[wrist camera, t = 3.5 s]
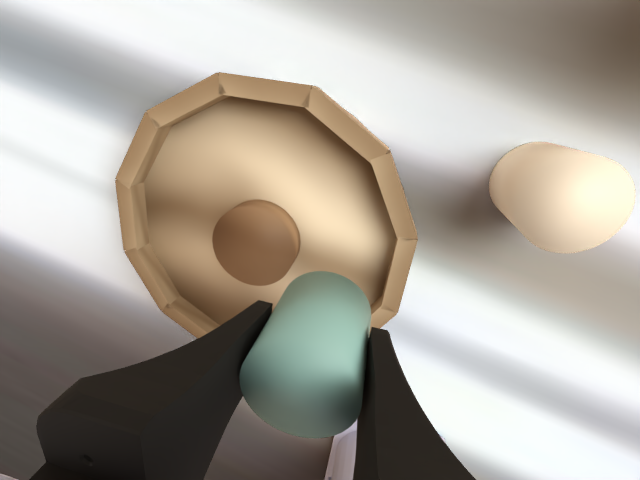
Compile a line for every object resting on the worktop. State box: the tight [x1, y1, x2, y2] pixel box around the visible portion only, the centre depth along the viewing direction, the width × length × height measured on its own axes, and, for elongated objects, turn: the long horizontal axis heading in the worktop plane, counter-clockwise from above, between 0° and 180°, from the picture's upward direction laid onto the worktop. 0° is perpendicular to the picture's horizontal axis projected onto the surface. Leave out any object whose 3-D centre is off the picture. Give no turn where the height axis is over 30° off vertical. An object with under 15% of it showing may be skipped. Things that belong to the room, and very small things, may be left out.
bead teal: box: [239, 271, 371, 438], centre depth 13 cm, size 4×4×4 cm
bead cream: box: [489, 142, 635, 253], centre depth 15 cm, size 4×4×4 cm
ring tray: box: [115, 72, 418, 338], centre depth 20 cm, size 18×18×2 cm
